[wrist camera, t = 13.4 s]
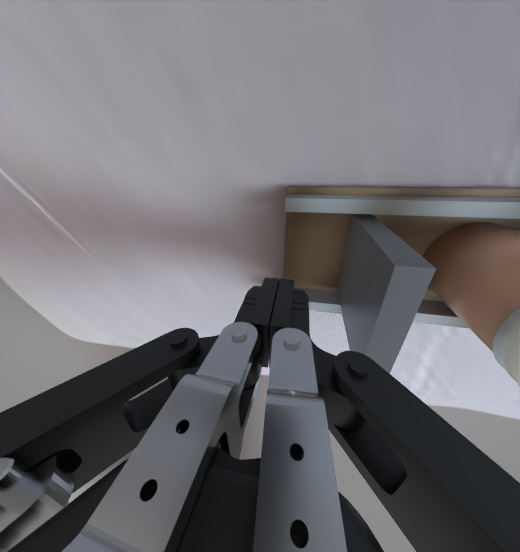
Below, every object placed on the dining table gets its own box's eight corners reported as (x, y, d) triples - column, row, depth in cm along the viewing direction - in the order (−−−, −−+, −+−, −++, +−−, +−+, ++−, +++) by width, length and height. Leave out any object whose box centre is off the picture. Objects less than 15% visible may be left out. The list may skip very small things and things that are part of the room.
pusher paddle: (371, 213, 14) (436, 268, 7) (352, 291, 16) (384, 384, 10) (352, 213, 14) (395, 265, 7) (336, 289, 17) (356, 380, 10)
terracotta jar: (434, 218, 13) (574, 279, 6) (541, 220, 12) (850, 296, 5) (406, 291, 16) (484, 392, 9) (493, 298, 15) (656, 418, 8)
